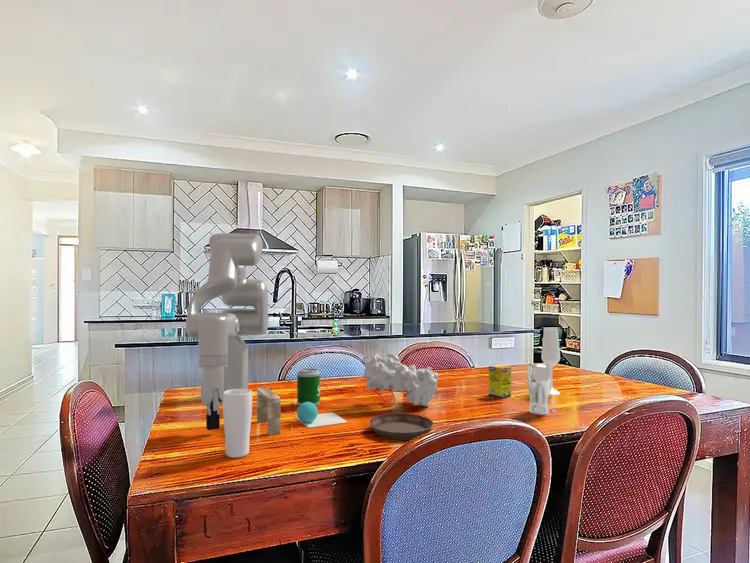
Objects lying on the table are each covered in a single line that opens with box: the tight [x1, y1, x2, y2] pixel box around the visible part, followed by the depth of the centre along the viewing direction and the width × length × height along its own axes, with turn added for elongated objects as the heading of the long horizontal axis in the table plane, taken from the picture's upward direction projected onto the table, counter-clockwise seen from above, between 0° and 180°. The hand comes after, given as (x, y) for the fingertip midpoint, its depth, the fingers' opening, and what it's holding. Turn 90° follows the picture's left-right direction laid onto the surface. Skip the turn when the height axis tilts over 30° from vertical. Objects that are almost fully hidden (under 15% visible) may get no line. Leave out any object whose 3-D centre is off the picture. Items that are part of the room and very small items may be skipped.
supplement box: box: [488, 364, 512, 399], centre depth 176 cm, size 6×6×11 cm
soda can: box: [296, 368, 321, 407], centre depth 161 cm, size 8×8×12 cm
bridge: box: [256, 386, 282, 436], centre depth 137 cm, size 3×15×10 cm, turn 26°
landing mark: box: [295, 412, 349, 429], centre depth 144 cm, size 12×12×1 cm
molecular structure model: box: [362, 352, 439, 408], centre depth 161 cm, size 20×18×25 cm
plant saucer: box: [368, 412, 434, 441], centre depth 133 cm, size 18×18×3 cm
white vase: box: [527, 363, 551, 416], centre depth 153 cm, size 7×7×15 cm
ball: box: [296, 402, 319, 423], centre depth 142 cm, size 6×6×6 cm
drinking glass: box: [222, 389, 253, 459], centre depth 115 cm, size 7×7×15 cm
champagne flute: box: [541, 327, 561, 396], centre depth 181 cm, size 7×7×24 cm
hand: (212, 428), depth 130 cm, fingers closed
